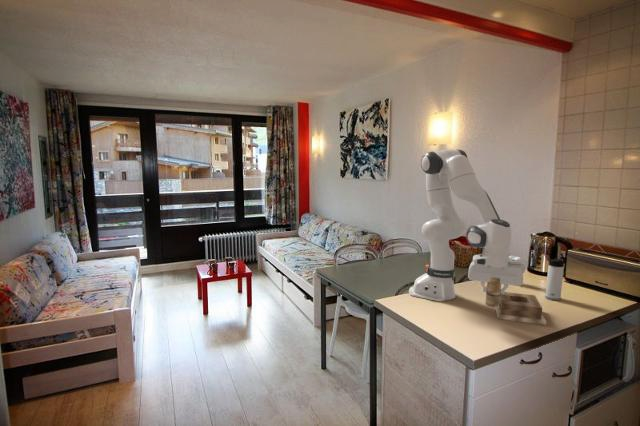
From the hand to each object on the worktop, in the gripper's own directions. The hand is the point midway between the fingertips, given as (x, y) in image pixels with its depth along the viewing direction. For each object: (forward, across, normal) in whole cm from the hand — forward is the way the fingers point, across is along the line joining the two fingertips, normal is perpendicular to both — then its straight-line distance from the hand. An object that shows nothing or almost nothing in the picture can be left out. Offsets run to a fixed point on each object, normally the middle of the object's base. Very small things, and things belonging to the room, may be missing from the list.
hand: (493, 292), depth 150 cm
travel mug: (+14, -32, -40) cm, 53 cm away
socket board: (+14, -13, -15) cm, 24 cm away
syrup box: (+14, -16, -58) cm, 62 cm away
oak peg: (+5, 0, 0) cm, 5 cm away
